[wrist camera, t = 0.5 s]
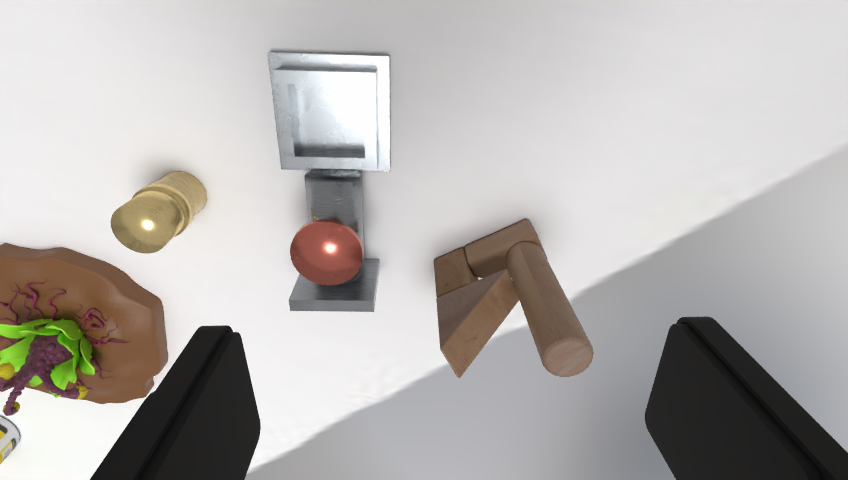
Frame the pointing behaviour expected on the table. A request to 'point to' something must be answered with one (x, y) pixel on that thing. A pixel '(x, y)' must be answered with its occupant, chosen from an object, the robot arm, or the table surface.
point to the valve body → (332, 168)
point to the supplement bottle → (7, 438)
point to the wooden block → (506, 301)
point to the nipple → (159, 212)
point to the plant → (76, 328)
